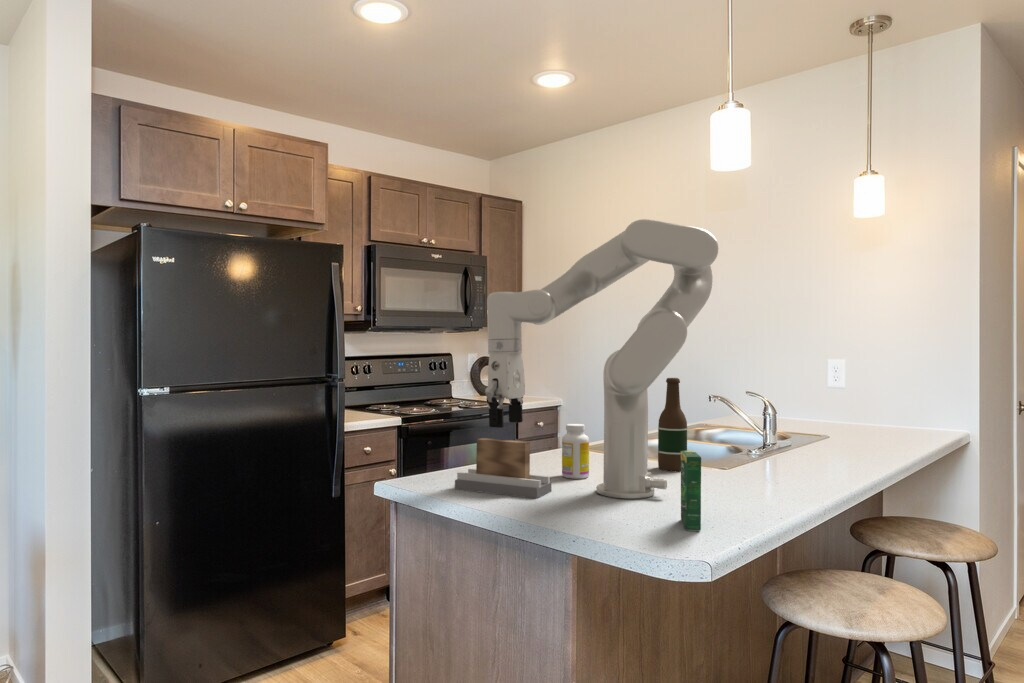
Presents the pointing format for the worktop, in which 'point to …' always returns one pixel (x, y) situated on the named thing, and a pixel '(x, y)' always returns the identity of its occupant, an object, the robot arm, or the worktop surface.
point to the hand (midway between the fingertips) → (506, 424)
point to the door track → (504, 484)
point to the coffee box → (691, 490)
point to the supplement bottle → (575, 452)
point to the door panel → (503, 458)
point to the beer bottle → (671, 430)
